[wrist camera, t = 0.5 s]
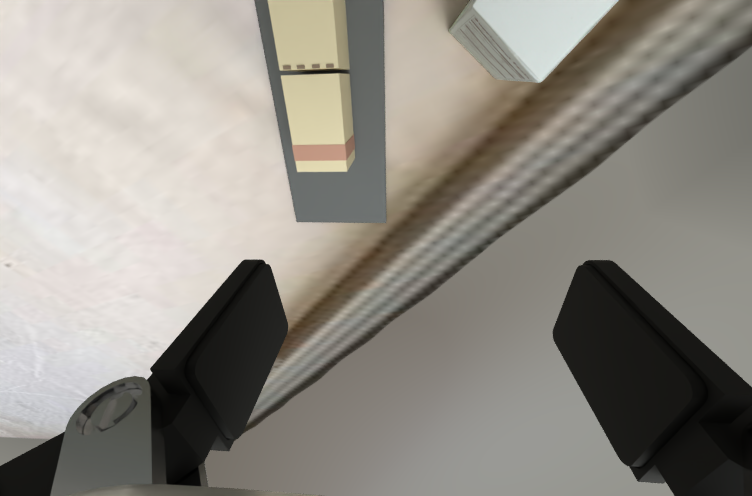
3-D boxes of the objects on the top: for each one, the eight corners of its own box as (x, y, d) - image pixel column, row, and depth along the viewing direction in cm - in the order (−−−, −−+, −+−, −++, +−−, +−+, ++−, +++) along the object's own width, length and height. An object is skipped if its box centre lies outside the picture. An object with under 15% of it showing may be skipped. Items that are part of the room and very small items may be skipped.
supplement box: (504, -50, 26) (575, -140, 15) (554, 14, 28) (650, -26, 17) (445, 31, 29) (469, 4, 18) (494, 82, 31) (541, 86, 20)
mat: (233, -122, 25) (230, -125, 25) (381, -137, 24) (381, -141, 23) (297, 220, 42) (296, 221, 41) (386, 221, 41) (386, 222, 40)
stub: (300, 75, 32) (279, 75, 26) (350, 73, 31) (339, 73, 26) (312, 158, 36) (296, 172, 31) (355, 157, 36) (347, 171, 31)
